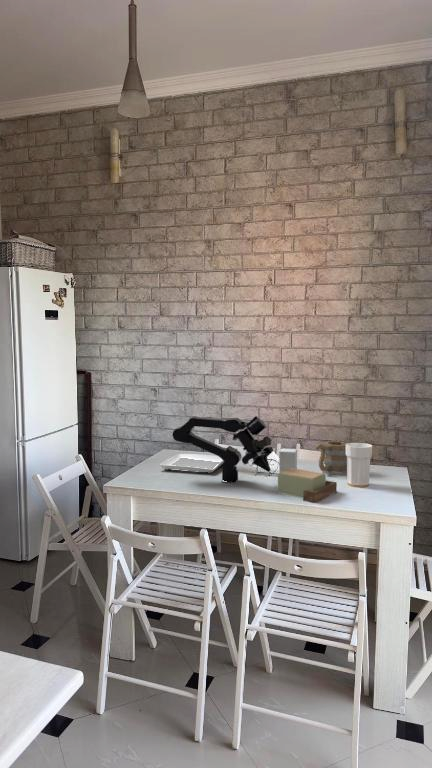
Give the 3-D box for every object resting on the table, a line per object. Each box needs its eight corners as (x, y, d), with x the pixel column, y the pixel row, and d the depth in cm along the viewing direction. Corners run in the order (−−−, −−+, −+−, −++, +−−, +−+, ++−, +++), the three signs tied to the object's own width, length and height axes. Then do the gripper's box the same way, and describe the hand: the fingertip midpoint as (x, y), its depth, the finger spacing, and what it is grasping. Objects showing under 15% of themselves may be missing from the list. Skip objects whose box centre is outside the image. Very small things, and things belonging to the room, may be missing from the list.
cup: (352, 488, 236) (353, 448, 235) (339, 482, 247) (340, 443, 246) (376, 486, 239) (377, 446, 238) (362, 480, 250) (363, 442, 249)
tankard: (336, 468, 274) (337, 437, 273) (355, 473, 263) (356, 441, 262) (305, 473, 263) (305, 441, 262) (324, 479, 253) (324, 446, 251)
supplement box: (297, 475, 258) (297, 448, 257) (295, 479, 251) (295, 452, 250) (281, 474, 260) (281, 447, 259) (278, 478, 253) (279, 451, 252)
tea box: (277, 492, 231) (278, 472, 230) (291, 487, 239) (291, 467, 239) (312, 499, 221) (312, 478, 220) (325, 493, 230) (325, 473, 229)
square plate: (158, 472, 266) (158, 464, 266) (179, 460, 292) (179, 452, 292) (213, 476, 258) (213, 468, 258) (229, 463, 284) (229, 456, 284)
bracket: (303, 500, 219) (303, 490, 219) (324, 489, 235) (324, 480, 234) (315, 502, 216) (315, 492, 216) (336, 491, 232) (336, 482, 231)
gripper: (249, 433, 233) (271, 463, 227) (270, 428, 248) (292, 456, 243) (232, 449, 238) (253, 479, 232) (254, 443, 253) (275, 471, 248)
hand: (269, 471), depth 239 cm, fingers closed
